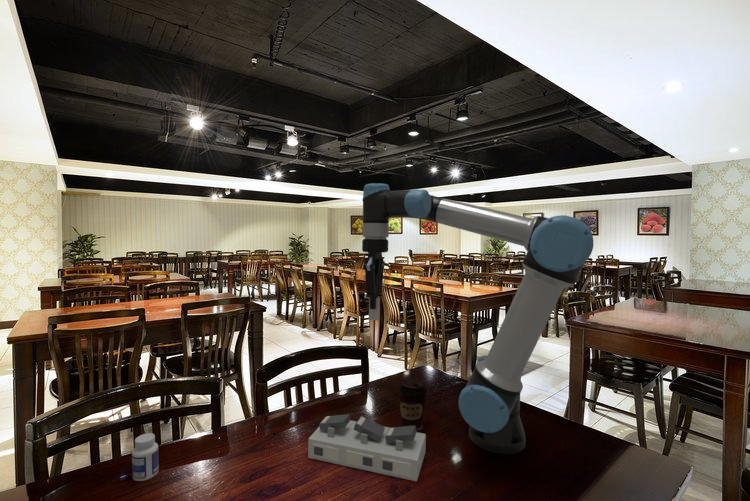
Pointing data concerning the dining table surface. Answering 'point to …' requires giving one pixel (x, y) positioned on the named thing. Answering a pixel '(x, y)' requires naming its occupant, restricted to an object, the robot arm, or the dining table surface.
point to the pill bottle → (145, 457)
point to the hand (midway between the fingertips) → (373, 319)
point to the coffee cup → (412, 403)
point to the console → (368, 451)
